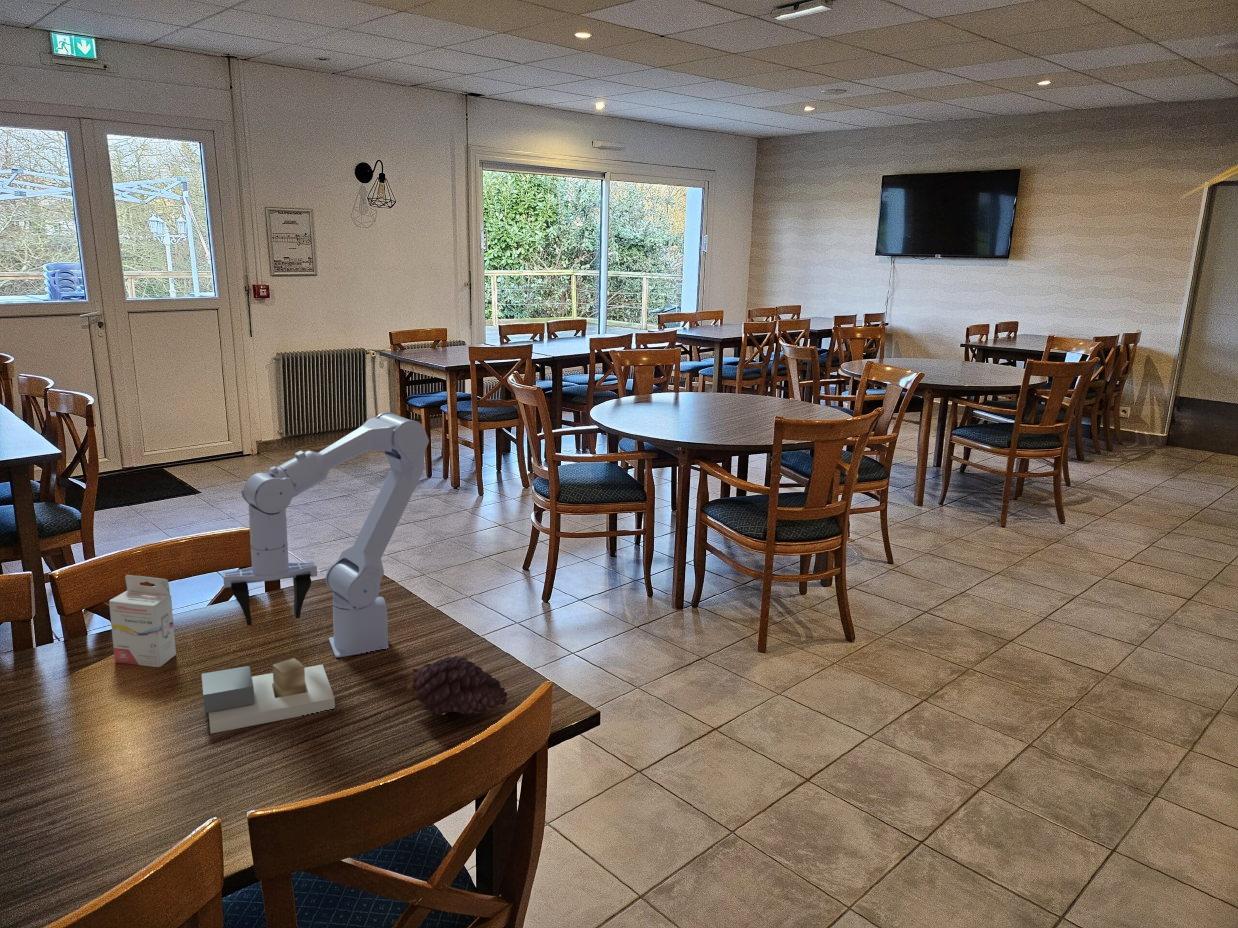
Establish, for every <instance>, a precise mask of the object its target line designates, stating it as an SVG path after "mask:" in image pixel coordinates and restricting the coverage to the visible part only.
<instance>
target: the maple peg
mask: <svg viewBox="0 0 1238 928" xmlns="http://www.w3.org/2000/svg"><path fill="white" fill-rule="evenodd" d="M304 668H305V665H304V664H302V663H301V661H299V660H298V659H296V658H295V657H293V658H290V659H286V660H284V661H280V662H277V663H274V664H272V673H273V682H274V696H275V698H278V697H284V696H289V695H295V694H300V693H306V692H305V670H304Z"/></svg>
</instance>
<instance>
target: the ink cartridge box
mask: <svg viewBox="0 0 1238 928" xmlns="http://www.w3.org/2000/svg"><path fill="white" fill-rule="evenodd" d="M124 580H125V585H126V591H123V592H122V593H120V594H118V595H117V596H116V595H115V597H113V598H111V599H110V600H109V601H108V604H109V614H110V625H111V637H112V644H113V645H112V647H113V656H114V663H119V664H129V665H135V666H136V665H137V666H144V667H152V668H153V667H154V668H162V666H164V665H165V664H166V663H167V662H168V661H170V660H171V659H172V658H174V657H175V656H176V655H177V654H176V653H177V652H176V650H177V649H176V640H175V639H176V638H175V627H174V614H173V603H172V595H171V591H170V585H169V583H170V582H169V579H168V578H167V579H166V578H159V577H152V576H143V575H133V574H131V575H130V574H126V575H125V576H124ZM146 582H148V583H149V584H153V585H154V586H150V585H143V584H142V585H141V583H146Z"/></svg>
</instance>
